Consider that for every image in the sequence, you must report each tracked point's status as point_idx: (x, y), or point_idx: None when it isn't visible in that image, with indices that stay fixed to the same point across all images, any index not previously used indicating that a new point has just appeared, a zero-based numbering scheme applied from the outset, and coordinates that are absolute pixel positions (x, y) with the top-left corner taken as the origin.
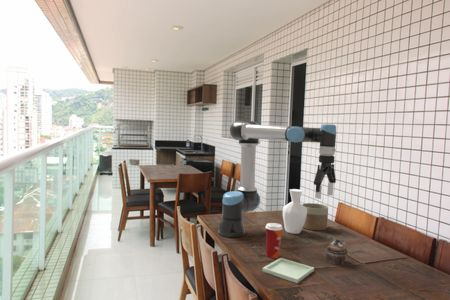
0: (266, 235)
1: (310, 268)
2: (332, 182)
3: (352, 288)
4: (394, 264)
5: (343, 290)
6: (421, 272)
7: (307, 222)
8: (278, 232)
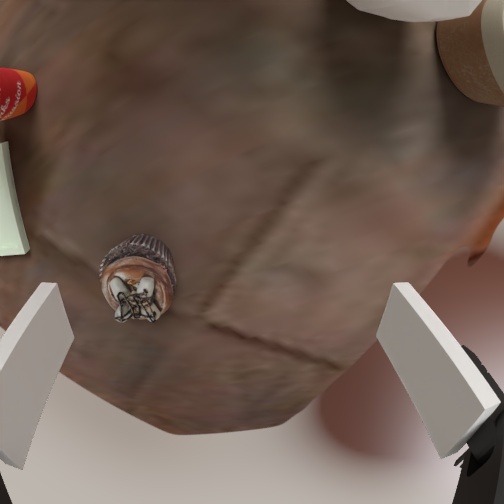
0: None
1: (13, 250)
2: (472, 445)
3: None
4: (265, 369)
5: None
6: (257, 406)
7: (452, 27)
8: None
